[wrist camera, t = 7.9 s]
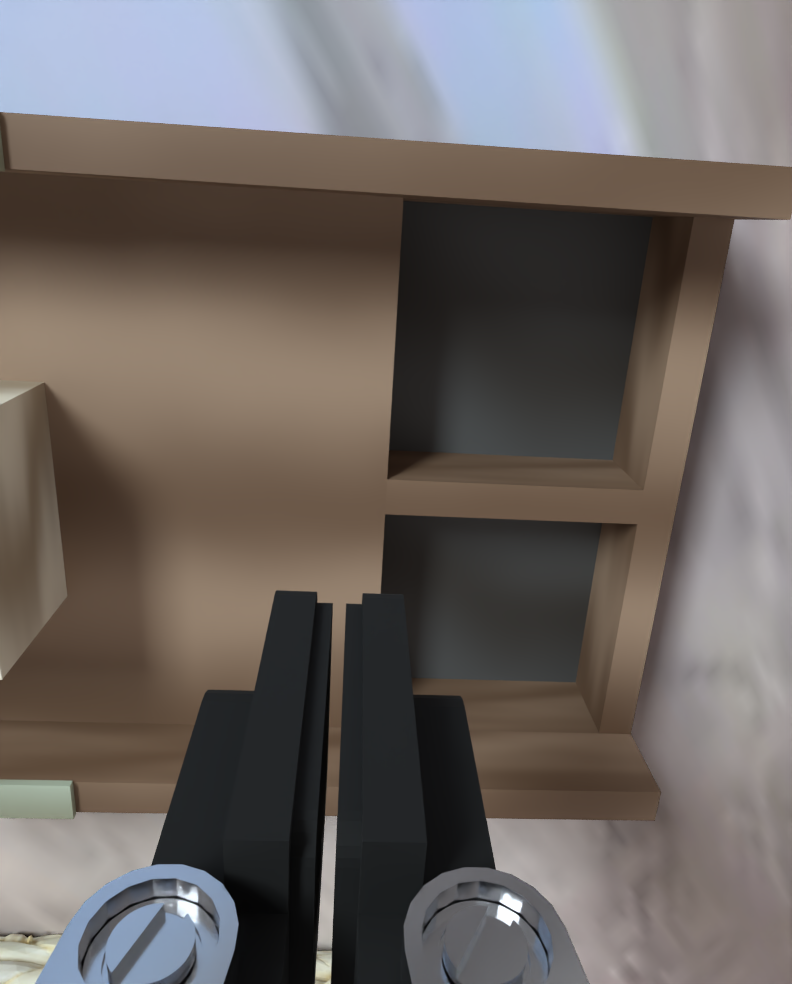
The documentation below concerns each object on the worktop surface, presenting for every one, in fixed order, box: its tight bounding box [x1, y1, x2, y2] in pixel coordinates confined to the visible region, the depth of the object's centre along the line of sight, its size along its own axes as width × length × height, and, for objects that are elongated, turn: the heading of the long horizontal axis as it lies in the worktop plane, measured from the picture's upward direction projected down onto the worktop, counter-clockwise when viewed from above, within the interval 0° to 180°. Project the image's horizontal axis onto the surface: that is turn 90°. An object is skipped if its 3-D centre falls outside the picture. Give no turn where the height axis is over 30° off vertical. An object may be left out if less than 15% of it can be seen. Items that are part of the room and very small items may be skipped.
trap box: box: [0, 112, 792, 821], centre depth 20 cm, size 17×24×6 cm
